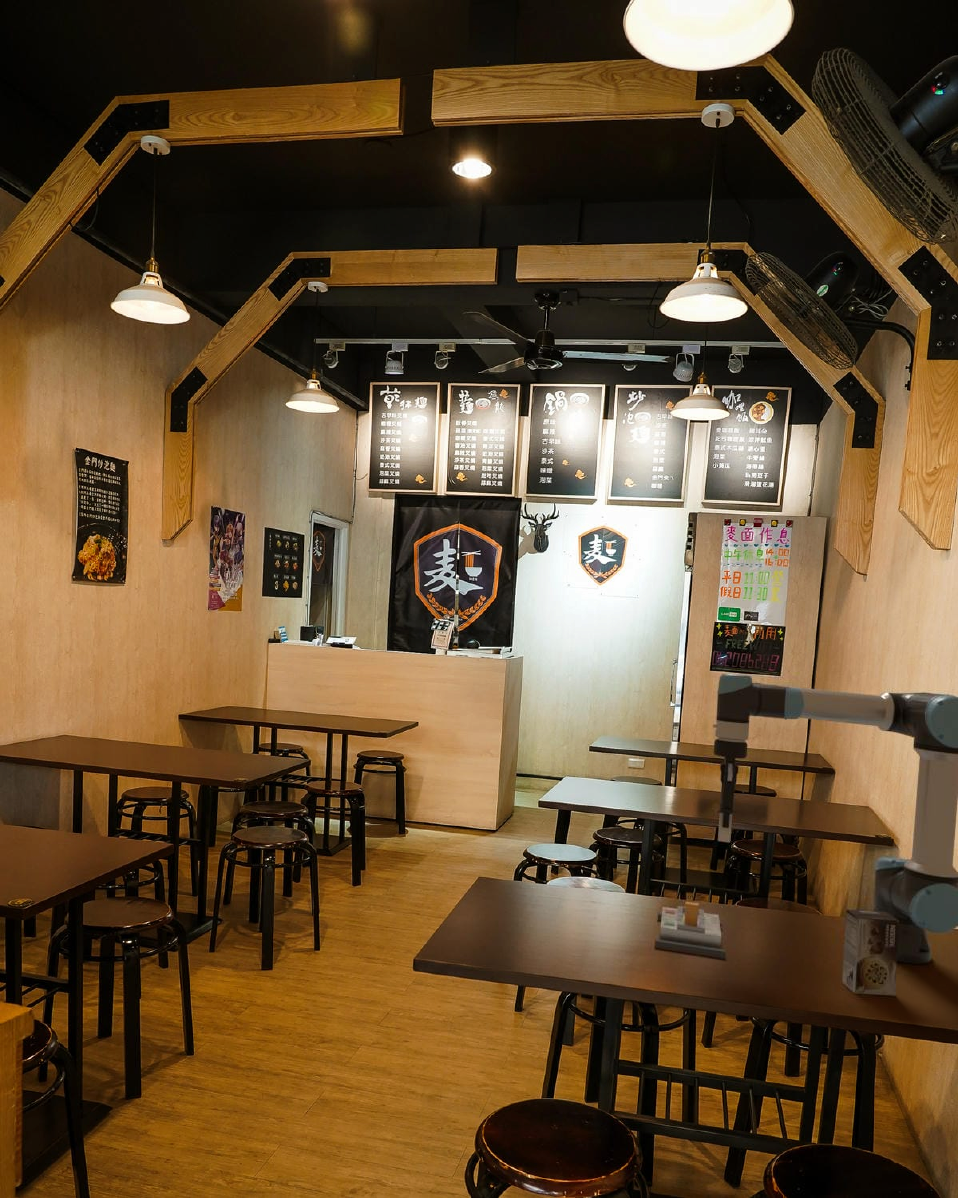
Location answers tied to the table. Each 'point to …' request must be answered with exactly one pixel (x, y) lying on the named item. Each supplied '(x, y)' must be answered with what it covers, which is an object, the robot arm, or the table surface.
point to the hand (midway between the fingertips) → (724, 841)
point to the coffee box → (870, 952)
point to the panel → (690, 928)
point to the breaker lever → (691, 913)
